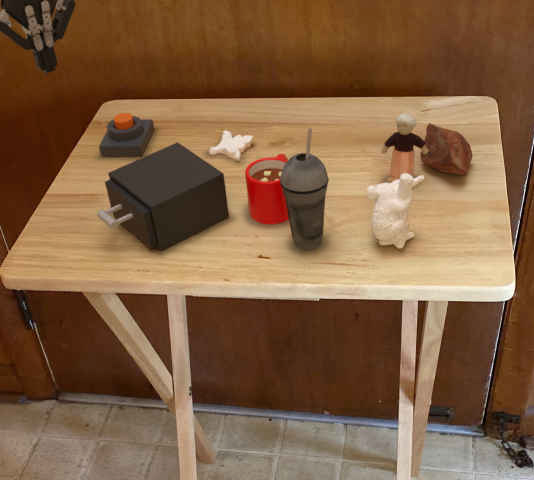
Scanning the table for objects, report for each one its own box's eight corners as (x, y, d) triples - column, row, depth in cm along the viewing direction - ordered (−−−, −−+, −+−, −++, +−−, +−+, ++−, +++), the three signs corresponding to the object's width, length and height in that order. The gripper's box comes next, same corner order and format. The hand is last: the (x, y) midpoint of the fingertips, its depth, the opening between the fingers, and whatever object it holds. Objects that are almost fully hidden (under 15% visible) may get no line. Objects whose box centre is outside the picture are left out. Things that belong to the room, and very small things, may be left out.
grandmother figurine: (382, 188, 139) (383, 121, 130) (379, 176, 141) (381, 109, 133) (427, 185, 138) (432, 118, 130) (424, 173, 141) (428, 106, 132)
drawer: (128, 260, 128) (120, 224, 123) (91, 226, 135) (81, 191, 131) (215, 217, 135) (210, 182, 130) (175, 187, 142) (168, 153, 138)
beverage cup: (285, 229, 132) (276, 118, 119) (330, 227, 132) (326, 115, 118) (284, 257, 127) (275, 143, 113) (331, 255, 126) (327, 141, 113)
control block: (142, 156, 152) (138, 137, 150) (101, 156, 154) (96, 137, 151) (154, 129, 160) (151, 110, 157) (115, 129, 161) (111, 111, 158)
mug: (307, 185, 141) (305, 145, 136) (289, 226, 133) (286, 185, 127) (263, 181, 143) (259, 142, 138) (243, 221, 135) (238, 180, 129)
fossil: (473, 174, 133) (451, 117, 131) (425, 193, 137) (403, 137, 135) (481, 161, 144) (461, 108, 142) (437, 178, 148) (416, 127, 146)
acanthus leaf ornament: (224, 136, 156) (223, 127, 154) (257, 142, 153) (256, 133, 152) (206, 155, 151) (204, 146, 150) (238, 161, 148) (238, 152, 147)
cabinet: (160, 251, 130) (151, 207, 124) (118, 215, 139) (107, 172, 133) (229, 217, 136) (223, 173, 130) (184, 184, 144) (177, 142, 138)
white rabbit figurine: (420, 228, 129) (424, 163, 121) (421, 254, 125) (425, 188, 117) (367, 227, 131) (367, 162, 123) (365, 253, 126) (365, 187, 118)
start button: (131, 130, 153) (129, 122, 151) (113, 130, 153) (111, 122, 152) (136, 121, 155) (134, 112, 154) (118, 121, 156) (116, 112, 155)
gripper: (49, -67, 117) (75, 50, 128) (-39, -43, 111) (-3, 77, 123) (73, -56, 112) (98, 64, 124) (-17, -31, 106) (18, 93, 118)
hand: (48, 70), depth 123 cm, fingers closed
